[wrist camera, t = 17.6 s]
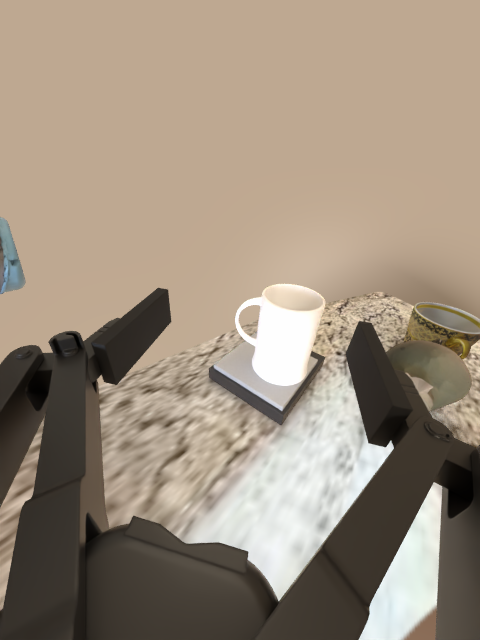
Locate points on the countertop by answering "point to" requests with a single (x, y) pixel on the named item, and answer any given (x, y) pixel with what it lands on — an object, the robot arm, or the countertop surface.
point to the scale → (260, 382)
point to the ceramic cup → (444, 326)
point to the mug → (284, 332)
